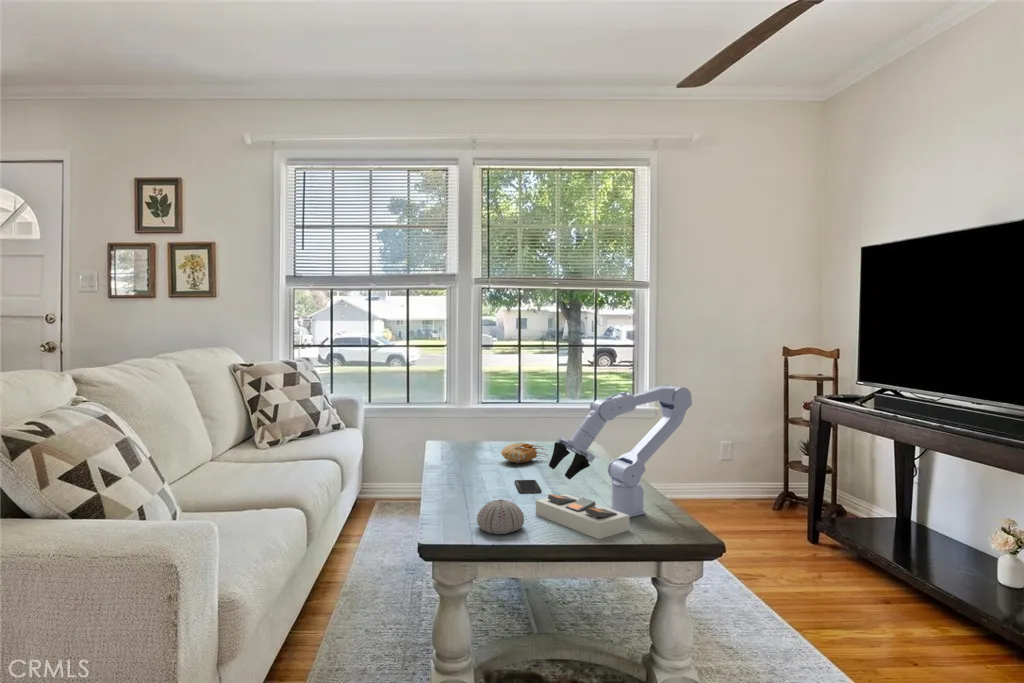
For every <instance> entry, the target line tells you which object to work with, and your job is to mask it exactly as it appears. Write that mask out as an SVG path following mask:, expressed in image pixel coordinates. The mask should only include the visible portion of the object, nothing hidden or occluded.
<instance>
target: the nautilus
mask: <svg viewBox="0 0 1024 683" xmlns="http://www.w3.org/2000/svg"><path fill="white" fill-rule="evenodd" d="M543 447H544V445H541V446H540V445H539V446H538V443H536V444H530V443H527V442H517V443H512V444H509V445H506V446H505V447H503V449H502V450H501V451H500V454H501V455H502V458H504V459H505V460H506V461H509V462H511V463H516V464H518V463H522V464H524V463H527V462H530V461H533V460H532V459H536V458H538V459H537V460H541V458H542V457H544V458H546V457H549V454H547V453H544V452H540V451H538V450H543V451H544V450H546V451H548V449H547V448H543ZM539 457H540V458H539ZM523 462H524V463H523Z"/></svg>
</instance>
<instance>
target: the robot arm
mask: <svg viewBox="0 0 1024 683" xmlns="http://www.w3.org/2000/svg"><path fill="white" fill-rule="evenodd" d="M692 399H693V397H692V392H691V391H690V390H689V389H688V388H687V387H683V386H682V387H681V386H680V387H679V386H674V385H669V384H664V385H659V386H656V387H653V388H651V389H648V390H644V391H641V392H639V393H635V394H632V393H630V392H625V391H621V392H620V394H619V395H618V394H617V395H615V396H611V395H609V396H606V398H605V399H601V398H599V399H598V398H597V399H596V400H594V402H591V403H590V405H589V412H588V413H587V415H586V417H585V418H584V419H583V421H582V423H581V424H580V425H579V426H578V427H577V429H576V431H575V432H574V433H573V435H572V437H570V439H569V438H568V439H567V438H564V437H561V436H559V438H558V439H557V441H555V442H554V445H553V451H552V456H551V458H550V461H549V463H548V467H549V468H551V469H552V470H555V469H556V468H557V467H558V465H559V464H560V463H561V461H563V459H564V458H565V457H567V456H568V455H570V454H571V452H572V453H574V457H573V459H572V462H571V463H570V465H569V467H568V468H567V470H566V471H565V473H564V477H565V478H567V479H568V481H569V480H571V479H572V478H573V477H574V476H576V475H577V474H578V473H580V472H581V471H582V470H583V471H584V470H585V469H587V468H589V467H590V466H591V463H593V461H594V460H595V458H596V456H594V454H593V453H591V452H589V451H588V450H589V448H590V446H591V445H592V444H593V442H594V441H595V439H597V437H598V435H599V434H600V432H601V431H602V430H603V428H604V427H605V425H606V424H607V422H608V421H613V420H615V418H616V417H617V416H621V415H624V414H628V413H631V412H634V411H635V410H636V408H637V406H641V405H645V404H649V403H654V402H657V401H658V404H659V407H660V410H661V413H662V417H661V418H660V419H659V421H658V422H657V423H655V425H654V426H653V427H652V428H651V429H650V430H649V431H648V432H647V433H645V435H644V436H643V438H641V439H640V440H639V442H638V443H637V444H636V445H635V446H634V447H633V448H632V449H631V451H628V452H625V453H623V454H621V455H620V456H619V457H618V458H616V459H613V460H611V462H609V464H608V467H607V474H608V476H609V477H610V478H611V509H612V510H615V511H618V512H621V513H624V514H627V515H629V519H630V518H633V517H637V516H641V515H644V514H646V511H645V510H644V501H645V500H644V488H643V487H642V485H641V484H640V483H639V482H640V481H641V479H642V475H644V473H645V472H646V466H645V464H646V463H647V462H648V461H649V460H650V458H651V457H652V456H653V455H654V454H655V453H656V452H657V451H658V450H659V449H660V448H661V446H662V445H663V444H664V443H666V441H667V440H668V439H669V438H670V437H671V436H672V435H673V434H674V432H676V430H678V428H679V427H680V426H681V425H682V423H683V421H684V418H685V416H686V413H687V411H688V410H689V409H690V407H691V406H692V404H693V402H692V401H693V400H692Z"/></svg>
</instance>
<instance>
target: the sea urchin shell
mask: <svg viewBox="0 0 1024 683" xmlns="http://www.w3.org/2000/svg"><path fill="white" fill-rule="evenodd" d="M476 523H477V526H478V527H479V529H481V530H482V531H484V532H485V533H487V534H491V535H507V534H509V533H515V532H516V531H518V530H520V529H521V528H522V527H523V526H524V524H525V515H524V512H523V511H522V510H521V508H520V506H518V505H517V504H516V503H514V501H511V500H506V499H503V498H502V499H501V498H500V499H495V500H491V501H489V502H487V503H486V504H485V505H483V506H482V507H481V508H480V510H479V512H478V513H477V516H476Z"/></svg>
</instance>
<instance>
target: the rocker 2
mask: <svg viewBox="0 0 1024 683" xmlns="http://www.w3.org/2000/svg"><path fill="white" fill-rule="evenodd" d="M586 513H589V514H592V515H595V516H597V517H605V518H607V517H611V516H615V515H617V513H614V512H612V511H609V510H606V509H597V508H586Z"/></svg>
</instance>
